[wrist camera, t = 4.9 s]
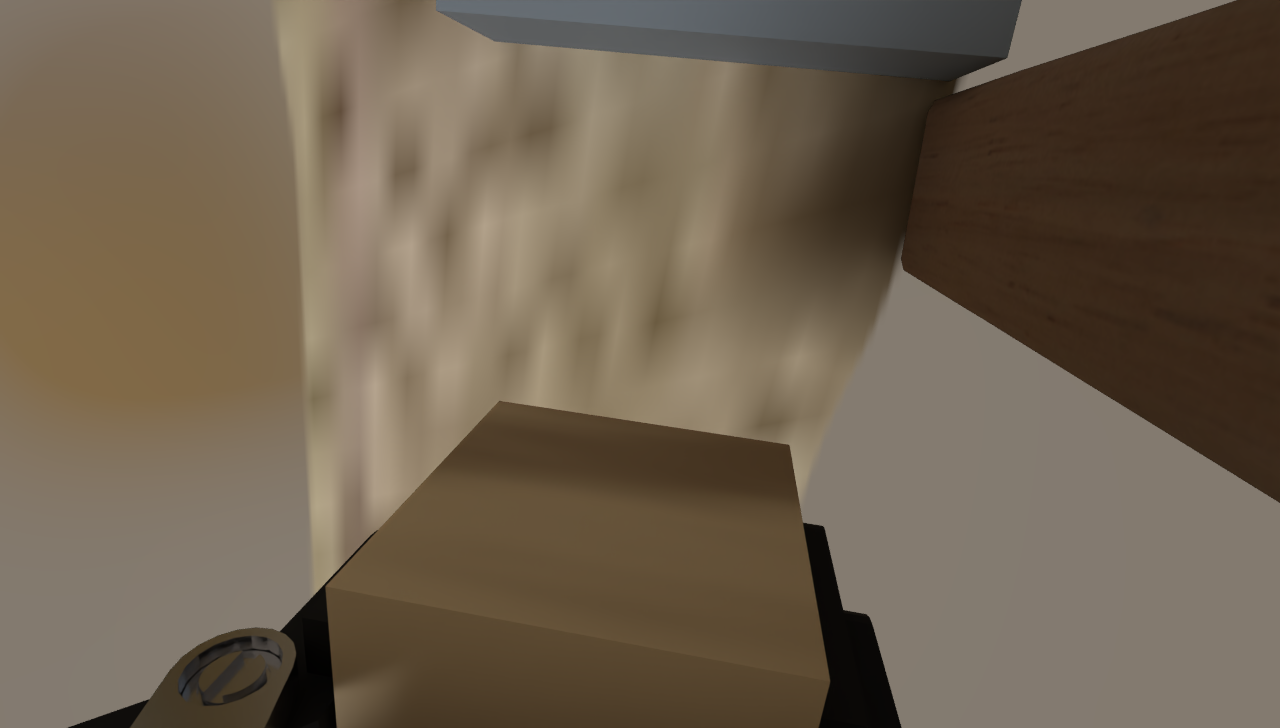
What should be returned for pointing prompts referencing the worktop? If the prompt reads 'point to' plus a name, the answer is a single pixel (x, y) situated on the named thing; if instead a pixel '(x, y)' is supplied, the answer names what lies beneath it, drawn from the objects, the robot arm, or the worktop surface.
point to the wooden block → (1127, 223)
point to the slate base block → (765, 31)
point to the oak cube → (585, 586)
